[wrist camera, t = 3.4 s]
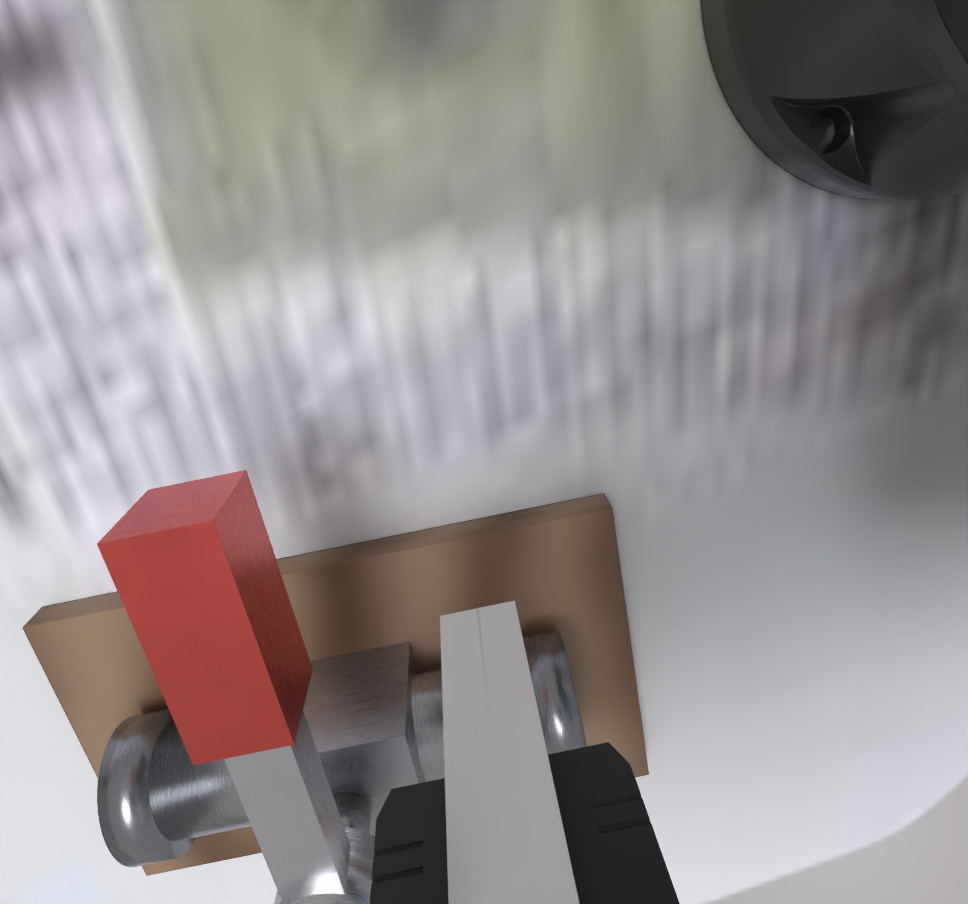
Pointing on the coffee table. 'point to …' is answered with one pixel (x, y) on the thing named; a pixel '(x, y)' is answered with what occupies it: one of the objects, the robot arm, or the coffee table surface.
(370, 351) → the coffee table surface
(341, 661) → the valve body
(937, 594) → the coffee table surface
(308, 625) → the walnut board
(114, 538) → the valve handle
